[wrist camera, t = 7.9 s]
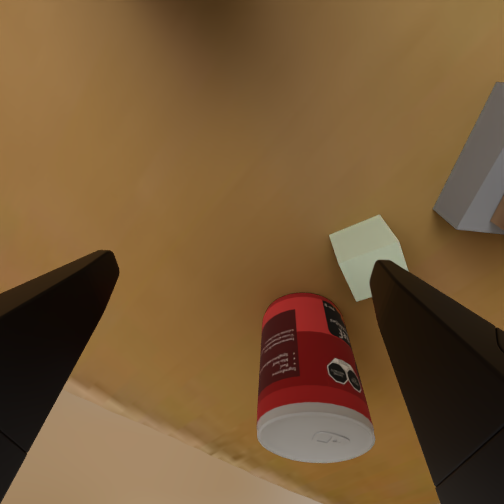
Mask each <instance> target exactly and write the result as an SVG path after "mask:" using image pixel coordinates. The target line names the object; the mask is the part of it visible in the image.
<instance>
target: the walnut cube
mask: <svg viewBox="0 0 504 504" xmlns="http://www.w3.org/2000/svg"><path fill="white" fill-rule="evenodd" d="M490 221H491V222H492V223H494V224H495V225H497V226H498V227H499V228H501V229H502V230H504V195H503V197H502V199H501V201H500V203H499V205H498V207H497V208H496V210H495V212H494V214H493V216H492V218H491V220H490Z"/></svg>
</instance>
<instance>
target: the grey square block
mask: <svg viewBox="0 0 504 504" xmlns="http://www.w3.org/2000/svg"><path fill="white" fill-rule="evenodd" d="M503 195H504V82H496V84H495V86H494V88H493V90H492V92H491V94H490V96H489V98H488V100H487V102H486V104H485V106H484V108H483V110H482V112H481V114H480V116H479V118H478V120H477V122H476V124H475V126H474V128H473V130H472V132H471V134H470V136H469V138H468V140H467V142H466V144H465V146H464V148H463V150H462V152H461V154H460V156H459V158H458V160H457V162H456V164H455V166H454V168H453V170H452V172H451V174H450V176H449V178H448V180H447V182H446V184H445V186H444V188H443V190H442V192H441V194H440V196H439V197H438V199H437V201H436V203H435V205H434V207H433V210H434V211H436V212H437V213H438V214H439V215H440V216H441V217H442V218H444V219H445V220H446V221H447V222H448V223H449V224H451V225H452V226H453V227H454V228H455V229H458V230H467V231H476V232H486V233H495V234H504V230H502V229H501V228H499V227H498V226H497V225H495V224H494V223H492V222H491V221H490V220H491V218H492V216H493V214H494V212H495V210H496V208H497V207H498V205H499V203H500V201H501V199H502V197H503Z"/></svg>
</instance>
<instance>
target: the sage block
mask: <svg viewBox="0 0 504 504" xmlns="http://www.w3.org/2000/svg"><path fill="white" fill-rule="evenodd" d="M329 236H330V240H331V243H332V246H333V249H334V252H335V255H336V258H337V261H338V264H339V266H340V268H341V270H342V272H343V274H344V277H345V279H346V281H347V283H348V285H349V287H350V289H351V291H352V294H353V296H354V298H355V300H356V302H357V301H360V300H364V299H367V298H370V297H372V294H371V290H370V284H369V281H370V277H371V273H372V270H373V267H374V264H375V262H376V261H377V260H391V261H392V262H394V263H396V264H397V265H399V266H400V267H402V268H404V269H405V270H407V271H408V268H407V265H406V262H405V259H404V256H403V252H402V249H401V246H400V243H399V241H398V239H397V238H396V236H395V235H394V234H393V232H392V231H391V230H390V228H389V227H388V225H387V224H386V223H385V221H384V220H383V219H382V217H381V216H380V214H379V215H377V216H374V217H372V218H370V219H367V220H365V221H362V222H360V223H357V224H355V225H352V226H350V227H347V228H345V229H343V230H340V231H338V232H335V233H333V234H330V235H329Z"/></svg>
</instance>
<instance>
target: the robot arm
mask: <svg viewBox="0 0 504 504" xmlns="http://www.w3.org/2000/svg"><path fill="white" fill-rule="evenodd" d="M118 277H119V267H118V264H117V261H116V259H115V256H114V253H113V252H112V251H110V250H98V251H96V252H93V253H91V254H89V255H87V256H84V257H82V258H80V259H78V260H75V261H73V262H71V263H69V264H66V265H64V266H62V267H60V268H57V269H55V270H53V271H51V272H48V273H46V274H44V275H42V276H39V277H37V278H35V279H33V280H30V281H28V282H26V283H24V284H21V285H19V286H17V287H15V288H12V289H10V290H8V291H6V292H3V293H1V294H0V503H1V501H2V500H3V498H4V496H5V494H6V492H7V490H8V489H9V487H10V485H11V483H12V481H13V479H14V478H15V476H16V474H17V472H18V470H19V468H20V467H21V465H22V463H23V461H24V459H25V457H26V455H27V452H28V451H29V450H30V448H31V446H32V444H33V442H34V440H35V438H36V437H37V435H38V433H39V431H40V429H41V427H42V426H43V424H44V422H45V420H46V418H47V416H48V414H49V413H50V411H51V409H52V407H53V405H54V403H55V402H56V400H57V398H58V396H59V394H60V392H61V391H62V389H63V387H64V385H65V383H66V381H67V380H68V378H69V376H70V374H71V372H72V370H73V368H74V367H75V365H76V363H77V361H78V359H79V357H80V356H81V354H82V352H83V350H84V348H85V346H86V344H87V343H88V341H89V339H90V337H91V335H92V333H93V332H94V330H95V328H96V326H97V324H98V322H99V321H100V319H101V317H102V315H103V313H104V311H105V308H106V306H107V304H108V301H109V299H110V296H111V294H112V291H113V289H114V287H115V284H116V282H117V279H118ZM369 284H370V290H371V294H372V299H373V304H374V308H375V313H376V317H377V321H378V325H379V329H380V332H381V335H382V337H383V340H384V343H385V346H386V349H387V352H388V354H389V357H390V360H391V363H392V366H393V369H394V372H395V374H396V377H397V380H398V383H399V386H400V389H401V391H402V394H403V397H404V400H405V403H406V406H407V409H408V411H409V414H410V417H411V420H412V423H413V426H414V428H415V431H416V434H417V437H418V440H419V443H420V446H421V448H422V451H423V454H424V457H425V460H426V463H427V465H428V468H429V471H430V474H431V477H432V480H433V482H434V485H435V486H436V492H437V494H438V497H439V500H440V503H441V504H504V331H502V330H501V329H499V328H495V326H494V325H493V324H491V323H490V322H488V321H486V320H485V319H483V318H482V317H480V316H478V315H477V314H475V313H474V312H472V311H470V310H469V309H467V308H466V307H464V306H462V305H461V304H459V303H458V302H456V301H455V300H453V299H451V298H450V297H448V296H447V295H445V294H443V293H442V292H440V291H439V290H437V289H435V288H434V287H432V286H431V285H429V284H427V283H426V282H424V281H423V280H421V279H419V278H418V277H416V276H415V275H413V274H412V273H410V272H408V271H407V270H405V269H404V268H402V267H400V266H399V265H397V264H396V263H394V262H392V261H391V260H377V261H376V262H375V264H374V267H373V270H372V273H371V277H370V281H369Z"/></svg>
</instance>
